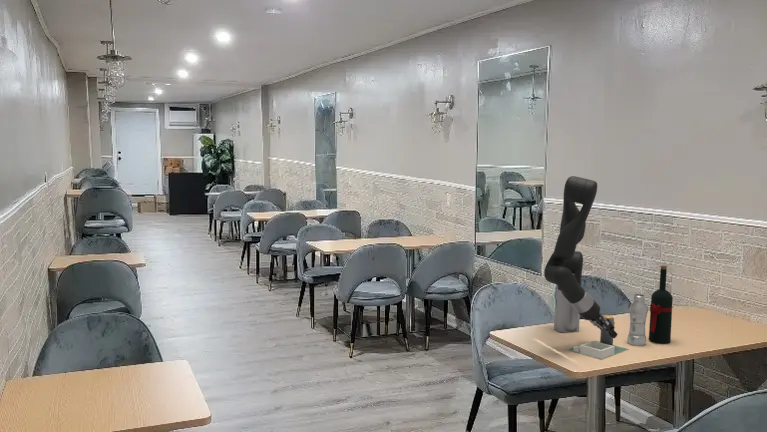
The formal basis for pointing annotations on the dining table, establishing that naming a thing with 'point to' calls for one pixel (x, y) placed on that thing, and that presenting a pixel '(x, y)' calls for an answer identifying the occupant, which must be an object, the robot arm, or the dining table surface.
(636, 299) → the plastic bottle
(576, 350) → the board
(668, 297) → the wine bottle
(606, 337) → the dark grey cylinder
